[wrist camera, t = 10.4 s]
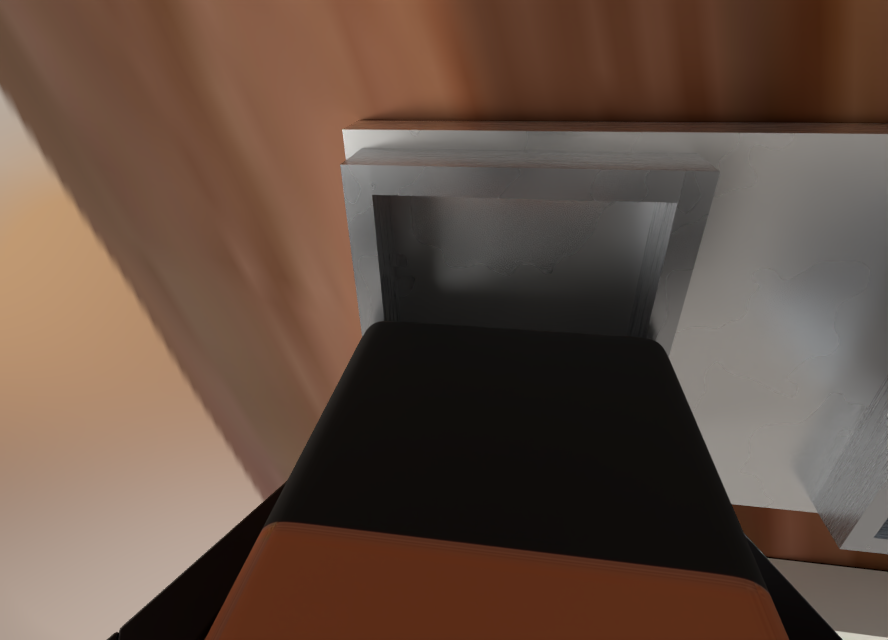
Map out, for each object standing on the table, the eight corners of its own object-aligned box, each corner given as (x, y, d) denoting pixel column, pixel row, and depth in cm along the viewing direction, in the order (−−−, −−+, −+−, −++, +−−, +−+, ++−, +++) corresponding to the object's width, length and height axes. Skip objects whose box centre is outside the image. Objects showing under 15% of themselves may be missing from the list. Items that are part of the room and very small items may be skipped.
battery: (367, 310, 11) (-71, 1103, 3) (667, 329, 11) (1213, 1518, 2) (382, 442, 14) (155, 1105, 5) (629, 466, 13) (827, 1305, 4)
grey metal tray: (1056, 505, 15) (1152, 593, 13) (391, 442, 18) (371, 505, 15) (1434, 126, 9) (1735, 160, 7) (357, 120, 12) (318, 143, 10)
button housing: (843, 638, 20) (879, 708, 18) (721, 622, 20) (742, 688, 18) (897, 572, 17) (946, 645, 15) (756, 556, 18) (786, 624, 16)
